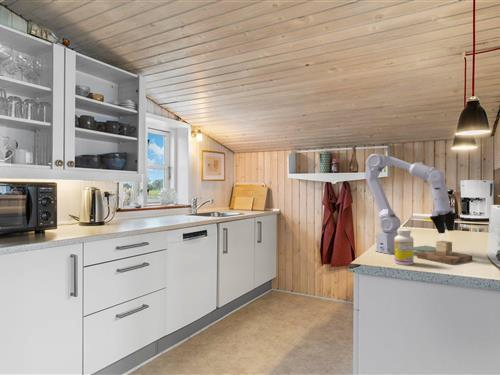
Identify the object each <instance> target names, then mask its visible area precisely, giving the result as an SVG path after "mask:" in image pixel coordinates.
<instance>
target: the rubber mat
mask: <svg viewBox="0 0 500 375" xmlns="http://www.w3.org/2000/svg"><path fill="white" fill-rule="evenodd" d="M413 250H414V251H418V252H426V251H432V250H436V246H429V245H420V246H413Z"/></svg>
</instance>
